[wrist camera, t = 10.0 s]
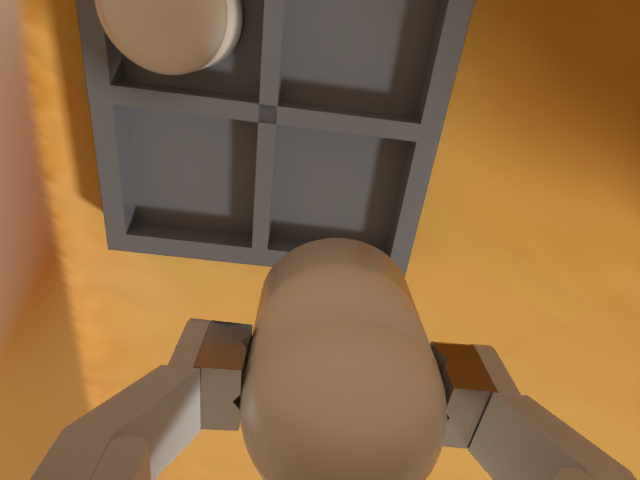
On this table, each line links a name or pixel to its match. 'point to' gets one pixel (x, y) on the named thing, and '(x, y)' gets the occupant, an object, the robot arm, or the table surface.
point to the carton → (277, 131)
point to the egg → (341, 371)
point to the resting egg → (173, 32)
